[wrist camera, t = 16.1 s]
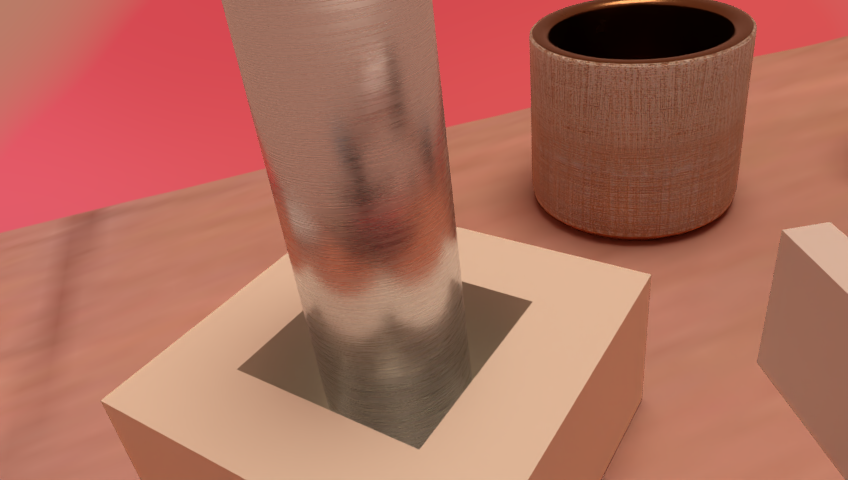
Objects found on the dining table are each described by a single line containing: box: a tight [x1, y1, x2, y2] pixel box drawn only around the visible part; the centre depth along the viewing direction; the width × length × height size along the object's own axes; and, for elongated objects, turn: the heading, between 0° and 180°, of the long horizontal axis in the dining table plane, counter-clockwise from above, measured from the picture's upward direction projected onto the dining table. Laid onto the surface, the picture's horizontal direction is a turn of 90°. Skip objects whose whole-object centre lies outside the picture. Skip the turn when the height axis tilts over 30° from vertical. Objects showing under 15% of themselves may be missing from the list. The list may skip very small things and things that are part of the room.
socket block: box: [101, 227, 651, 480], centre depth 25 cm, size 13×13×6 cm
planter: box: [530, 0, 756, 240], centre depth 38 cm, size 11×11×10 cm
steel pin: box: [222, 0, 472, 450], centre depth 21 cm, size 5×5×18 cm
